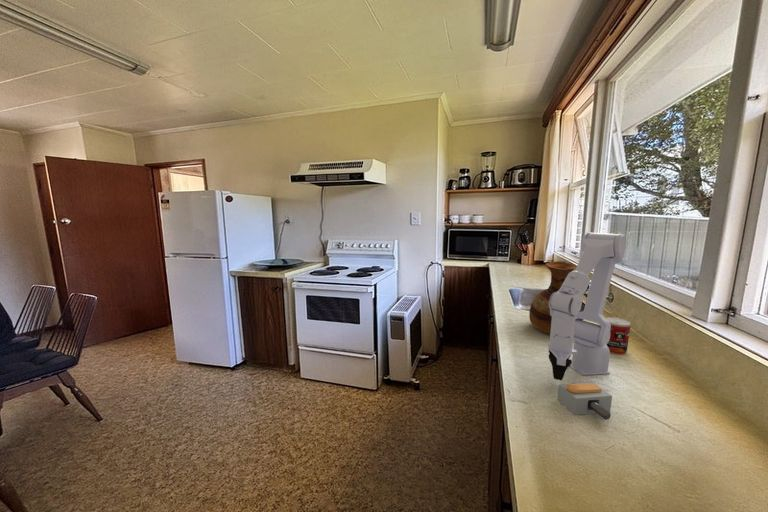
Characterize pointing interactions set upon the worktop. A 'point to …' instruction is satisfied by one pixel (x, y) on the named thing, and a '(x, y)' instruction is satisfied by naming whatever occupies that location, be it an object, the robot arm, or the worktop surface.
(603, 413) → the pin
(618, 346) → the canned food
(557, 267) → the brown clay vase
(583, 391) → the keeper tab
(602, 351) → the robot arm
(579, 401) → the block
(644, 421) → the worktop surface
